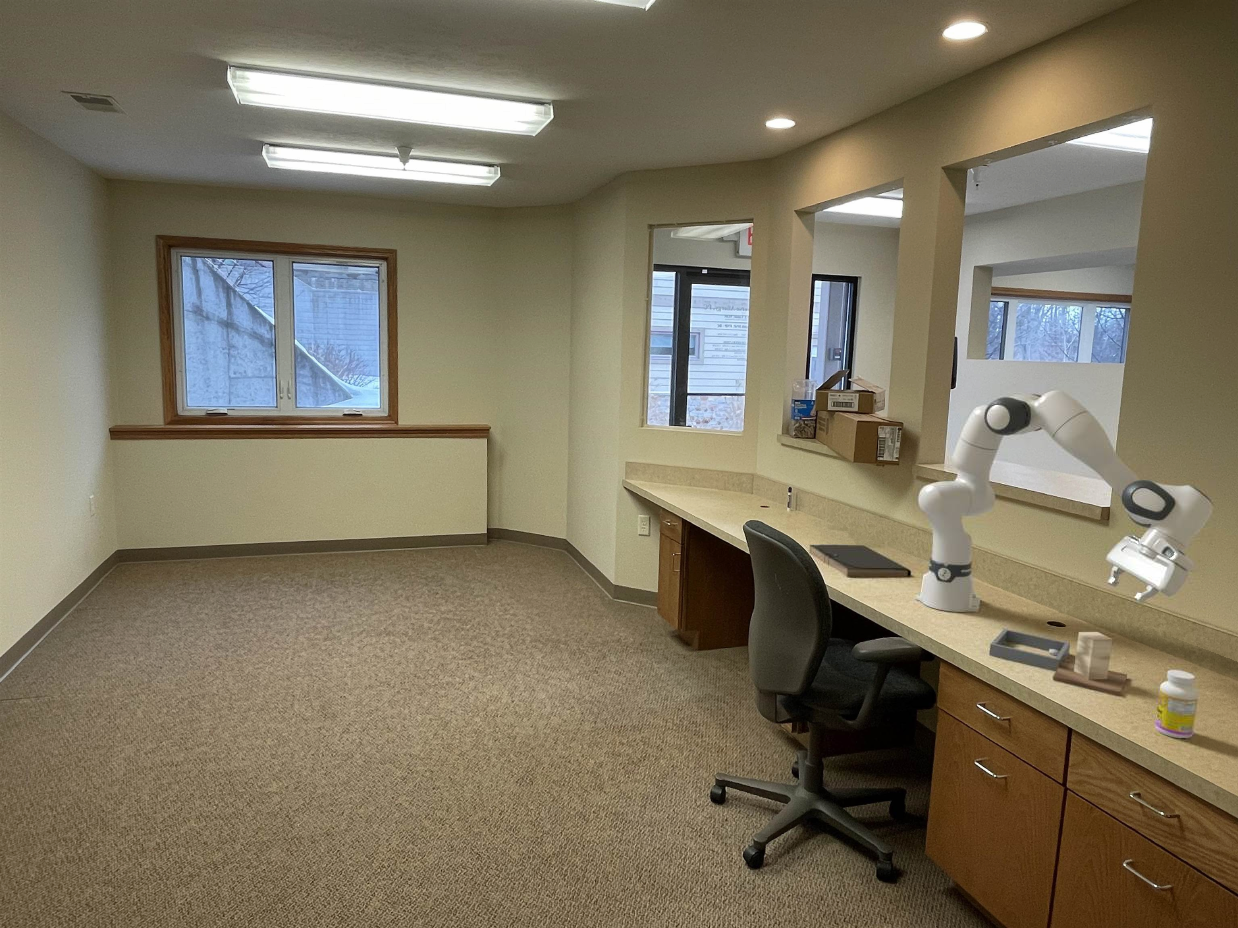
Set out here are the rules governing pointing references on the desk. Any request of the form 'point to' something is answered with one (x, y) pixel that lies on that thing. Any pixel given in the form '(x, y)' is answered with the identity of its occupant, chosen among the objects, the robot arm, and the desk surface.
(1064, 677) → the walnut board
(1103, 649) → the block
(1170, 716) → the supplement bottle
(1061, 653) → the parts tub
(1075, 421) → the robot arm
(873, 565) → the dark flat wooden case
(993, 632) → the desk surface
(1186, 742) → the desk surface
